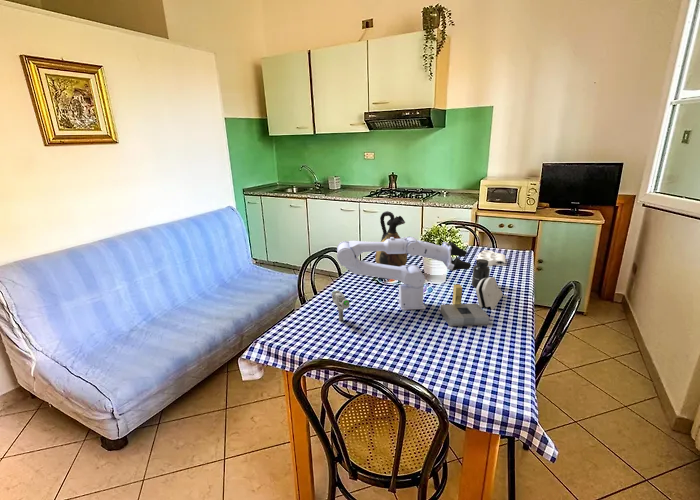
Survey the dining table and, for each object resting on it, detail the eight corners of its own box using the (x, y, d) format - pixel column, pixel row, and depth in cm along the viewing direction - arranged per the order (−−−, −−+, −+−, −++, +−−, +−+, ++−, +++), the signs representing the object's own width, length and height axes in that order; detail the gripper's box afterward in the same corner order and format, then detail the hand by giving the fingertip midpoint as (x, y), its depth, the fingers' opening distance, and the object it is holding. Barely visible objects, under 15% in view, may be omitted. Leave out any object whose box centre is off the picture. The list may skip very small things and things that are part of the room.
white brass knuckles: (504, 268, 182) (474, 265, 188) (505, 257, 198) (476, 255, 204) (505, 262, 181) (474, 259, 187) (505, 251, 197) (477, 249, 203)
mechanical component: (343, 327, 130) (343, 301, 127) (331, 315, 138) (330, 291, 135) (351, 325, 131) (350, 299, 128) (338, 313, 140) (337, 289, 136)
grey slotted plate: (449, 326, 129) (449, 318, 128) (440, 311, 139) (440, 304, 138) (488, 324, 129) (489, 317, 128) (476, 310, 140) (477, 303, 139)
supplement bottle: (471, 288, 160) (473, 262, 156) (472, 282, 166) (474, 257, 162) (487, 290, 157) (490, 264, 154) (488, 284, 163) (491, 259, 160)
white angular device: (492, 310, 140) (485, 285, 139) (480, 311, 143) (473, 287, 142) (503, 294, 153) (497, 272, 152) (491, 295, 156) (485, 273, 155)
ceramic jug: (411, 270, 182) (413, 210, 173) (398, 280, 170) (400, 217, 161) (381, 264, 191) (382, 207, 182) (366, 273, 178) (366, 213, 169)
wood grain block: (454, 306, 143) (456, 287, 141) (452, 303, 146) (453, 284, 144) (460, 306, 143) (462, 287, 141) (458, 302, 146) (459, 284, 144)
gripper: (441, 255, 130) (476, 264, 132) (436, 232, 142) (468, 241, 144) (433, 270, 135) (468, 278, 136) (429, 246, 146) (460, 254, 148)
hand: (467, 260), depth 140 cm, fingers open, 7 cm apart
